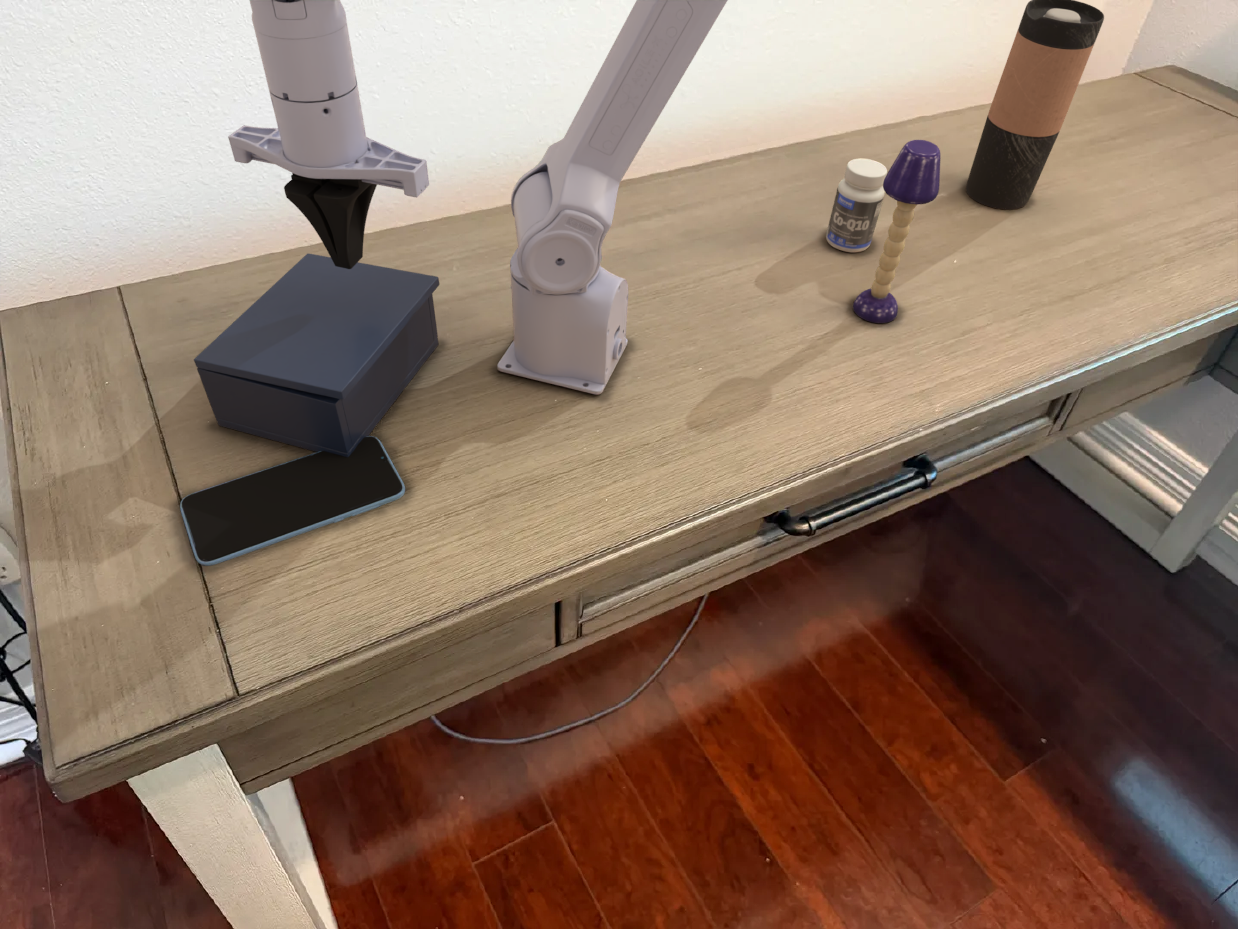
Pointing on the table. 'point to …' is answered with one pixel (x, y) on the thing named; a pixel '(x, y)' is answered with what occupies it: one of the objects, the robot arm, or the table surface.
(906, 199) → the toy lamp
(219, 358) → the lid
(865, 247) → the pill bottle
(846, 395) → the table surface
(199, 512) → the smartphone
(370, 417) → the box
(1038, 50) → the travel mug
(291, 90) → the robot arm
